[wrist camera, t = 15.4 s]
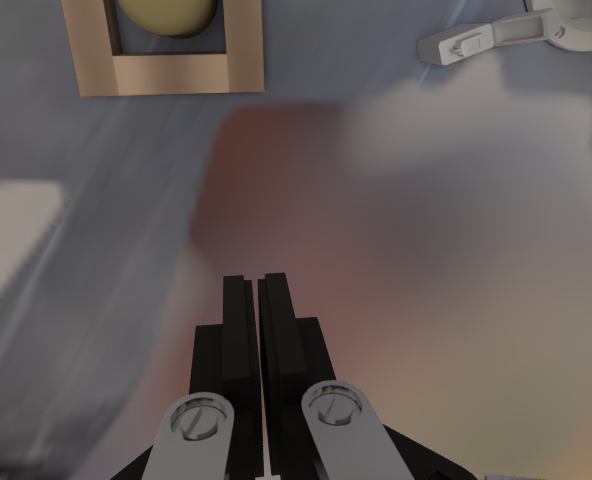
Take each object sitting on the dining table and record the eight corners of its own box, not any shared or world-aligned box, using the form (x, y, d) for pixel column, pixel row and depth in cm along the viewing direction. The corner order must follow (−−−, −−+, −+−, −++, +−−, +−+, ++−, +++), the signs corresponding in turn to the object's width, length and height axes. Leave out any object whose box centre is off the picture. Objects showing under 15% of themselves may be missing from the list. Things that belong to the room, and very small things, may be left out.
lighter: (420, 62, 38) (466, 71, 31) (415, 41, 37) (462, 44, 30) (500, 31, 38) (564, 33, 31) (497, 9, 37) (563, 6, 30)
